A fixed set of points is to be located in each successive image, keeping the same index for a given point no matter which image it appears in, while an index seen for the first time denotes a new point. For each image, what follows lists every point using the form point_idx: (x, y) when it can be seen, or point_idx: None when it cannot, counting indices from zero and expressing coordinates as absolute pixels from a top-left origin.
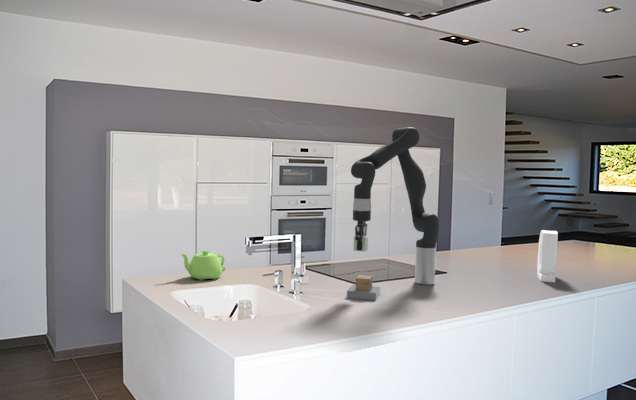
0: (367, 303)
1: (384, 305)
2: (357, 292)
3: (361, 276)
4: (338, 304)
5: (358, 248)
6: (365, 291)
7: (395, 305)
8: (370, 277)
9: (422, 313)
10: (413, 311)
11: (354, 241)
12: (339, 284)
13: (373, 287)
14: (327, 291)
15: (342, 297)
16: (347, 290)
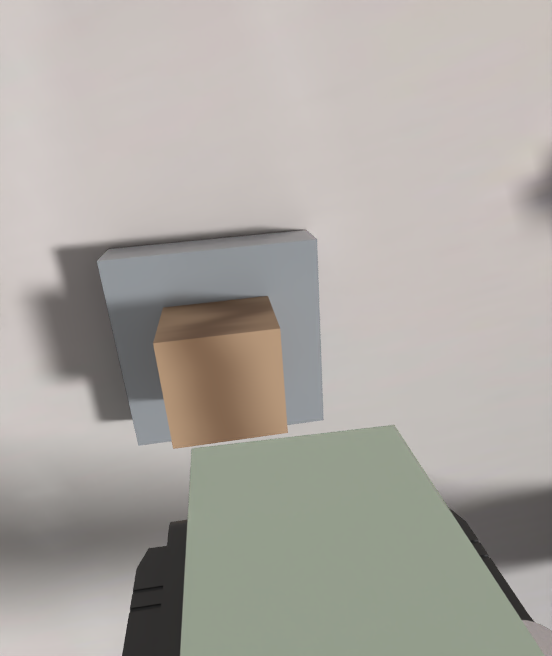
0: (49, 400)
1: (64, 483)
2: (114, 334)
3: (236, 365)
4: None
5: (143, 576)
6: (149, 380)
7: (98, 523)
8: (232, 434)
9: (27, 638)
10: (36, 606)
11: (186, 614)
12: (502, 63)
13: (290, 390)
14: (230, 40)
15: (105, 216)
16: (107, 261)
